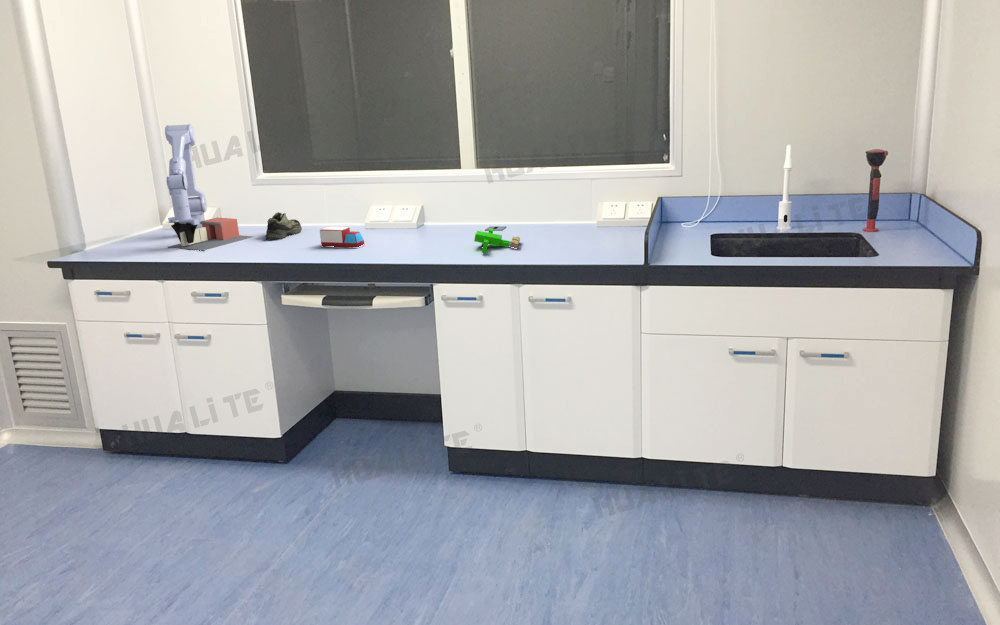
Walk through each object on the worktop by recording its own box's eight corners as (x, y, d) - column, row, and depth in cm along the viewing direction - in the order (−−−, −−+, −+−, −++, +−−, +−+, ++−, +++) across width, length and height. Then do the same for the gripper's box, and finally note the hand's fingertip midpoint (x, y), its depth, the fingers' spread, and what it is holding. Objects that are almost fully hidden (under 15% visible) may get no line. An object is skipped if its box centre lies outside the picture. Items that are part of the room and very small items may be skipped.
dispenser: (202, 238, 321) (199, 221, 319) (219, 234, 328) (217, 217, 326) (222, 240, 315) (219, 223, 313) (239, 235, 323) (237, 218, 321)
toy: (518, 247, 293) (477, 239, 293) (521, 234, 291) (479, 226, 292) (514, 262, 271) (470, 254, 272) (516, 248, 270) (472, 239, 270)
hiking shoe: (307, 229, 331) (304, 207, 328) (283, 241, 311) (279, 216, 309) (288, 230, 333) (285, 207, 330) (262, 241, 313) (259, 217, 310)
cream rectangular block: (181, 245, 307) (179, 232, 306) (205, 239, 316) (203, 227, 315) (184, 246, 306) (182, 233, 305) (207, 240, 315) (205, 227, 314)
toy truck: (357, 249, 291) (355, 230, 289) (321, 247, 297) (319, 229, 295) (364, 245, 296) (363, 227, 294) (329, 244, 302) (327, 226, 300)
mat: (167, 247, 309) (167, 246, 309) (219, 234, 330) (219, 233, 330) (203, 251, 299) (203, 250, 299) (254, 237, 320) (254, 236, 320)
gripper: (159, 207, 305) (165, 243, 308) (185, 209, 297) (191, 246, 301) (174, 204, 310) (180, 239, 314) (201, 206, 303) (206, 242, 307)
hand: (187, 242), depth 308 cm, fingers open, 4 cm apart
